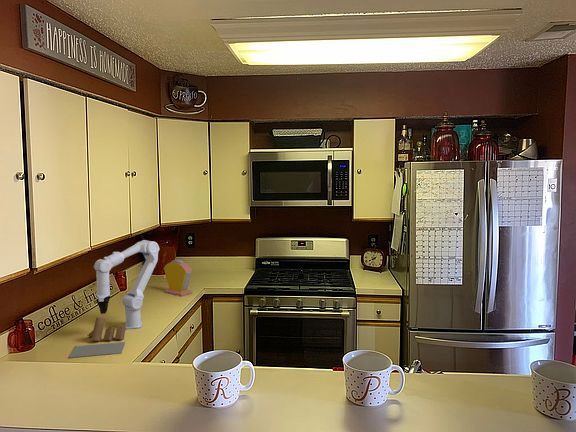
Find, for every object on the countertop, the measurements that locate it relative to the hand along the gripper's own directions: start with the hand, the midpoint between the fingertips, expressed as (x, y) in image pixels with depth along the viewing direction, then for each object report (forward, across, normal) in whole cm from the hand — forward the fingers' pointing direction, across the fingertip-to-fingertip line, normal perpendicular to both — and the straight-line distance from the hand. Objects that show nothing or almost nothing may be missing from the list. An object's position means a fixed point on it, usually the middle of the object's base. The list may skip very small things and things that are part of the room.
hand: (103, 312), depth 224 cm
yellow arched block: (+9, -70, +34) cm, 79 cm away
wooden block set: (+11, +8, +1) cm, 14 cm away
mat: (+11, +22, 0) cm, 24 cm away
